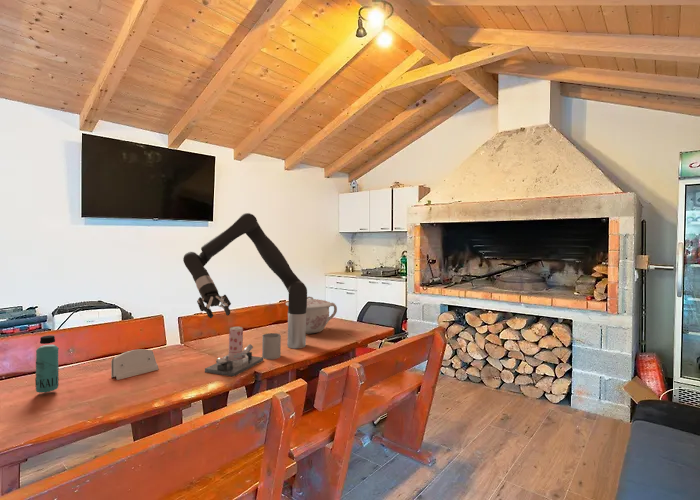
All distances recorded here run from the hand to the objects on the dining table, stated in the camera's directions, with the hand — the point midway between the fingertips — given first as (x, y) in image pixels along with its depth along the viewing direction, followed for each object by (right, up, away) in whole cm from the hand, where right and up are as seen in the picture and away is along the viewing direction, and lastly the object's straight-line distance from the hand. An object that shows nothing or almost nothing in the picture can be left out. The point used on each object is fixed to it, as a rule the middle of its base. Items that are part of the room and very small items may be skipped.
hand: (220, 315), depth 176 cm
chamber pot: (+33, -19, +59) cm, 70 cm away
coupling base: (+9, -21, -7) cm, 23 cm away
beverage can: (+8, -19, -7) cm, 22 cm away
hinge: (-29, -20, -17) cm, 39 cm away
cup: (+21, -21, +8) cm, 31 cm away
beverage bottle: (-47, -21, -39) cm, 65 cm away
